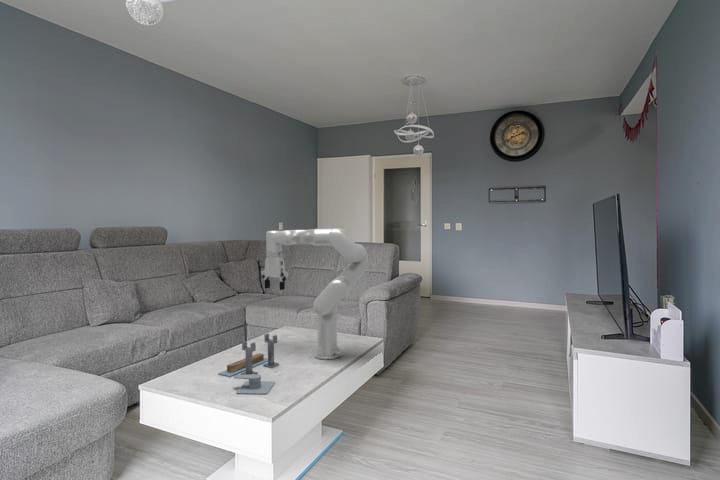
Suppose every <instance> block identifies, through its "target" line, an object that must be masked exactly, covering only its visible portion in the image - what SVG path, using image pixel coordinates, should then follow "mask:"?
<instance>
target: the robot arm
mask: <svg viewBox="0 0 720 480" xmlns="http://www.w3.org/2000/svg"><path fill="white" fill-rule="evenodd" d="M265 233H266V235H265V238H266V239H265V240H266V241H265V242H266V246H265V247H266V248H265V249H266V258H265V260H264V261H265V262H264V269H263V270H261V271H260V274H261V277H262V279H263V281H264V289H271V281H270V278H273V279H274V278H275V279H278V280H279V291H282V290H285V288H286V287H285V286H286V285H285V283H286V281H287V279H288V277H289V272H287V271H286V268H285V267H286V266H285V260H284V257H283V256H284V253H283V251H282V250H283V247H282V246H292V245H312V246H315V247H317V246H318V247H320V246H321V247H322V246H323V247H325V246H329V247H330V246H332V248H334V249H335V250H336V251H337V252H338V253H339V254H340V255H341V256H342V257H344V258H345V259H346V260H347V261H348V262H349V264H347V266H346V267H345V268H344V269H343V271H342V272H340V274H339V275H338V276H337V277H336V278H334V279H332V280H331V281H330V282H328V285H326V286H325V288H324V289H323V290H322V291H321V292H320V293H319V295H318V296H317V297H316V298H314V299H315V300H314V301H313V304H312V305H313V306H312V308H313V311H314V312H315V314H317V351H316V352H315V353H314V357H315V358H316V359H318V360H319V359H320V360H334V359H337V358H339V357H340V356H343V354H344V350H341V349H340V347H339V346H338V328H337V327H338V320H337V319H338V305H339V303H340V302H341V301H342V300H343V299H344V298H345V297H346V296H347V295H348V294H349V292H350V290H352V289H353V287H354V286H355V285H356V283H357V282H358V281H359V279H361V277H362V276H363V275H364V273H365V272H366V270H367V268H368V265H369V254H368V251H367V249H366V248H365V246H364V245H362V244H360V243H356V242H355V241H354V240H352V239H351V238H350V237H349V235H348V233H347V231H346V230H345V229H344V228H339V227H338V228H337V227H336V228H335V227H333V228H312V229H286V230H268V231H266V232H265Z"/></svg>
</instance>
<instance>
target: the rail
mask: <svg viewBox="0 0 720 480" xmlns="http://www.w3.org/2000/svg"><path fill="white" fill-rule="evenodd" d="M264 358H265V354H264V353H260V352H259V353H256V354H252V365H253V364H256V363H258V362H261V361H263V360H264ZM243 368H246V357H245V358H243V359H240V360H237V361H234V362H232V363H228V364H227V365H226V370H227V372H229V373H234V372H236V371H238V370H241V369H243Z"/></svg>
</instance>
